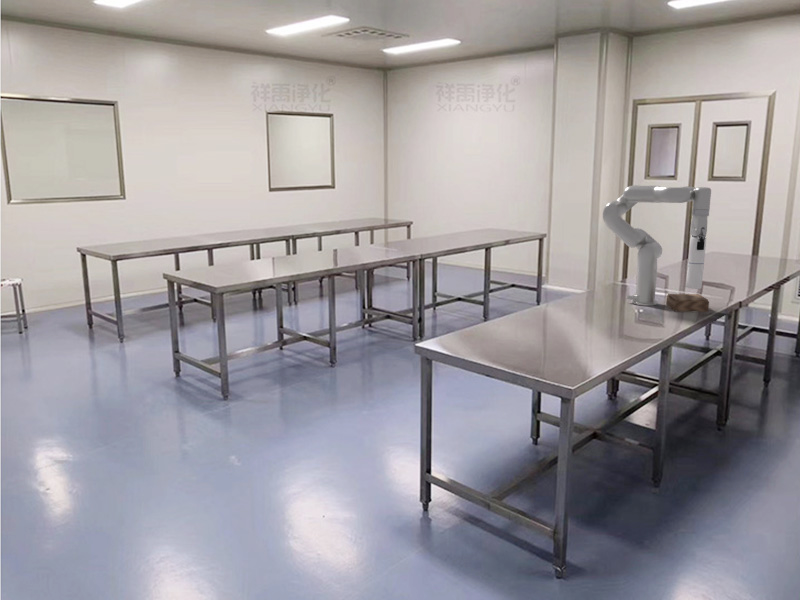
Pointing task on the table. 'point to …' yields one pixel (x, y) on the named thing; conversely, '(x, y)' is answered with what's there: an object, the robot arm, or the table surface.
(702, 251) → the cylindrical container
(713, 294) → the table surface
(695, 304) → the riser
